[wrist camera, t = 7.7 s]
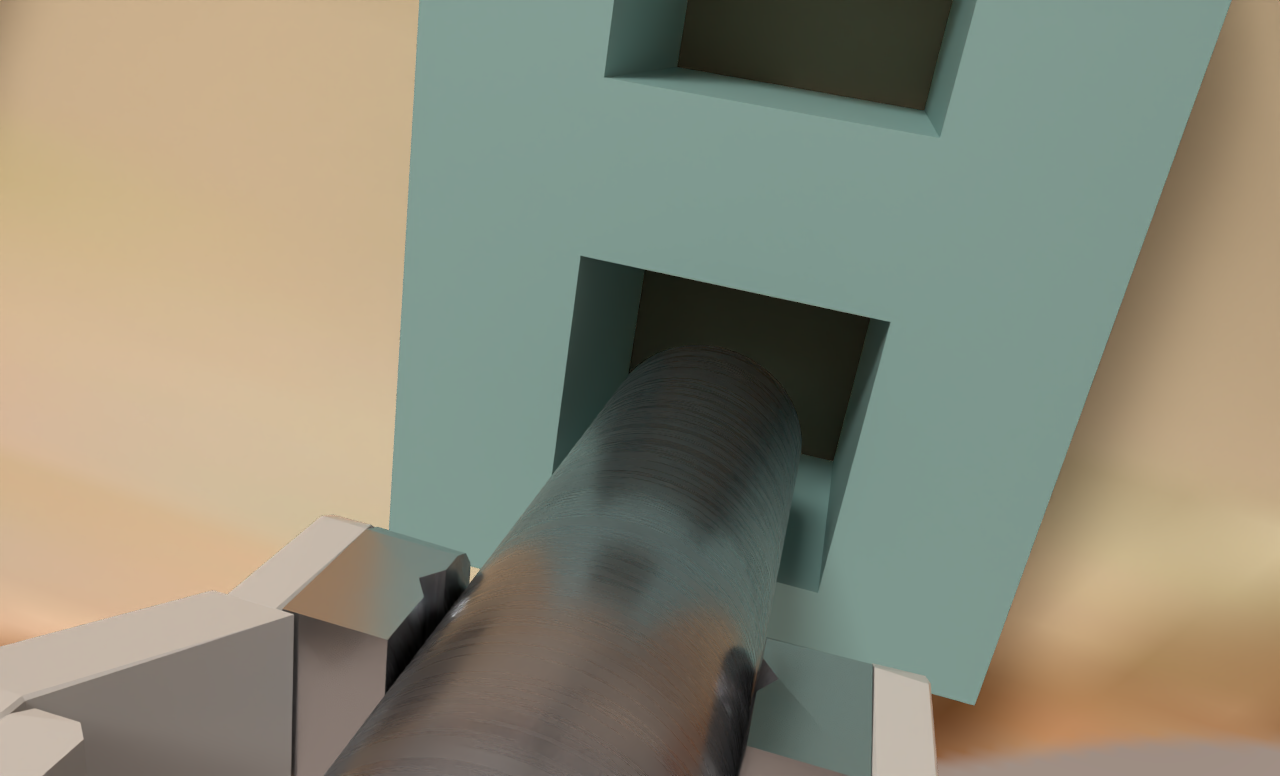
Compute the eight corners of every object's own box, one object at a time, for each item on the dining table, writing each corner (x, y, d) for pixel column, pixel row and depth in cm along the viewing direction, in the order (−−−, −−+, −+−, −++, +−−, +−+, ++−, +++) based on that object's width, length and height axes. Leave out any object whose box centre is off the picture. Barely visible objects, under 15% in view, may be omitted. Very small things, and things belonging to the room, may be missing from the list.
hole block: (574, -324, 16) (447, -473, 11) (1214, -255, 14) (1376, -397, 9) (496, 433, 21) (387, 543, 16) (952, 547, 19) (974, 705, 15)
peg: (623, 325, 14) (-287, 1321, 3) (822, 370, 14) (579, 1735, 3) (596, 499, 15) (-140, 1682, 4) (778, 546, 15) (481, 2026, 4)
